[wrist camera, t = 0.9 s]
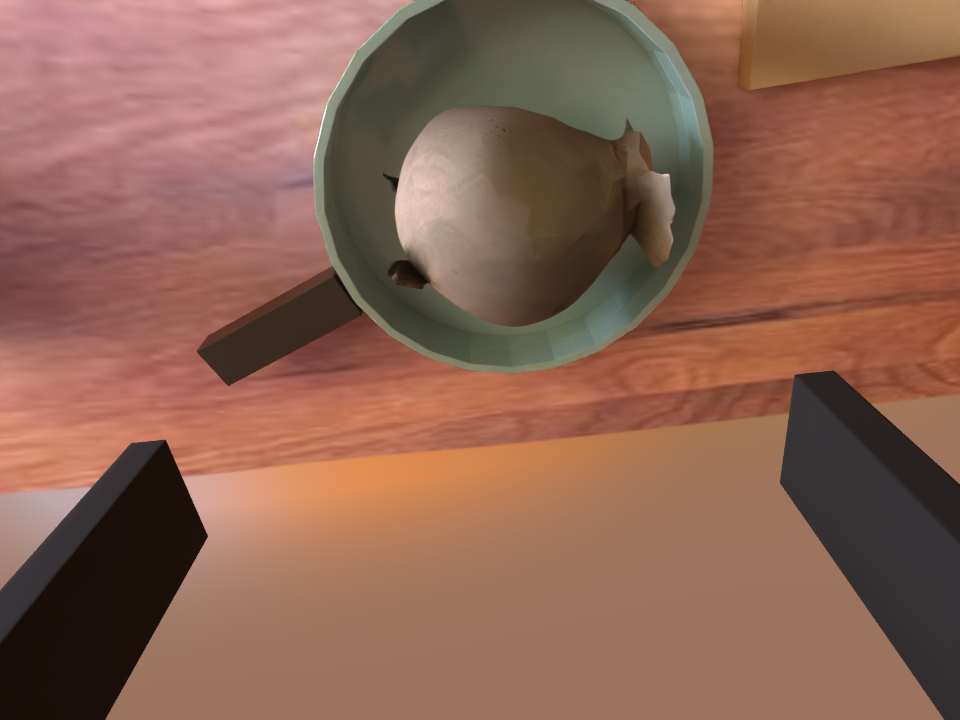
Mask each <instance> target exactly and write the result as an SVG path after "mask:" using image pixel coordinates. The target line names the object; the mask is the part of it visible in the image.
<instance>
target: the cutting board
mask: <svg viewBox="0 0 960 720" xmlns="http://www.w3.org/2000/svg"><path fill="white" fill-rule="evenodd" d="M958 56H960V0H743V15H742V30H741V45H740V61H739V76H738V87H740V88H744V89H747V90H750V91H751V90H757V89H763V88H769V87H775V86H781V85H788V84H794V83H800V82H806V81H812V80H818V79H824V78H830V77H836V76H842V75H848V74H854V73H860V72H866V71H873V70H879V69H885V68H891V67H897V66H903V65H909V64H915V63H921V62H927V61H933V60H939V59H945V58H952V57H958Z"/></svg>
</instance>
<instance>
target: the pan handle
mask: <svg viewBox="0 0 960 720" xmlns="http://www.w3.org/2000/svg"><path fill="white" fill-rule="evenodd" d="M362 312H363V310H362V309H361V308H360V307H359V306H358V305H357V304H356V303H355V301H354V300H353V299H352V297H351V295H350V294H349V292H348V290H347V289H346V287H345V285H344V284H343V282H342V280H341V279H340V277H339V275H338V274H337V272H336V271H335V269H334V267H333V266H332V267H330V268H328V269H327V270H325V271H323V272H321V273H319V274H318V275H316V276H314V277H312V278H311V279H309V280H307V281H305V282H303V283H302V284H300V285H298V286H296V287H294V288H293V289H291V290H289V291H287V292H285V293H284V294H282V295H280V296H278V297H277V298H275V299H273V300H271V301H269V302H268V303H266V304H264V305H262V306H260V307H259V308H257V309H255V310H253V311H251V312H250V313H248V314H246V315H244V316H243V317H241V318H239V319H237V320H235V321H234V322H232V323H230V324H228V325H226V326H225V327H223V328H221V329H219V330H217V331H216V332H214V333H212V334H210V335H209V336H207V338H206V339H205V340H204V342H203V343H202V344H201V346H200V347H199V349H198V350H197V353H198V354H199V355H200V356H201V357H202V358H203V359H204V360H205V361H206V363H207V364H208V365H209V366H210V367H211V368H212V369H213V370H214V371H215V372H216V373H217V374H218V376H219V377H220V378H221V379H222V380H223V381H224V382H225V383H226V384H227V385H228V386H229V385H231V384H233V383H235V382H237V381H239V380H240V379H242V378H244V377H246V376H248V375H250V374H252V373H254V372H256V371H257V370H259V369H261V368H263V367H265V366H267V365H269V364H271V363H273V362H274V361H276V360H278V359H280V358H282V357H284V356H286V355H288V354H290V353H291V352H293V351H295V350H297V349H299V348H301V347H303V346H305V345H306V344H308V343H310V342H312V341H314V340H316V339H318V338H320V337H322V336H323V335H325V334H327V333H329V332H331V331H333V330H335V329H337V328H339V327H340V326H342V325H344V324H346V323H348V322H350V321H352V320H354V319H356V318H357V317H359V316H361V315H362Z"/></svg>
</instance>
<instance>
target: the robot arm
mask: <svg viewBox="0 0 960 720" xmlns="http://www.w3.org/2000/svg"><path fill="white" fill-rule="evenodd" d="M780 484H781V485H782V486H783V488H784V489H785V491H786V492H787V494H788V495H789V497H790V498H791V499H792V501H793V502H794V504H795V505H796V507H797V508H798V509H799V511H800V512H801V514H802V515H803V517H804V518H805V520H806V521H807V522H808V524H809V525H810V527H811V528H812V530H813V531H814V533H815V534H816V535H817V537H818V538H819V540H820V541H821V542H822V544H823V545H824V547H825V548H826V550H827V551H828V553H829V554H830V556H831V557H832V558H833V560H834V561H835V563H836V564H837V566H838V567H839V569H840V570H841V571H842V573H843V574H844V576H845V577H846V578H847V580H848V582H849V583H850V584H851V586H852V587H853V589H854V590H855V592H856V593H857V594H858V596H859V597H860V599H861V600H862V602H863V603H864V604H865V606H866V607H867V609H868V610H869V612H870V613H871V615H872V616H873V617H874V619H875V620H876V622H877V623H878V624H879V626H880V628H881V629H882V630H883V632H884V633H885V635H886V636H887V638H888V639H889V641H890V642H891V643H892V645H893V646H894V648H895V649H896V651H897V652H898V653H899V655H900V656H901V658H902V659H903V661H904V662H905V663H906V665H907V666H908V668H909V669H910V671H911V672H912V674H913V675H914V677H915V678H916V679H917V681H918V682H919V684H920V685H921V687H922V688H923V690H924V691H925V692H926V694H927V695H928V697H929V698H930V700H931V701H932V702H933V704H934V705H935V707H936V708H937V710H938V711H939V713H940V714H941V715H942V717H943V718H944V720H960V484H959V483H958V482H957V481H955V480H954V479H953V478H952V477H951V476H950V475H949V474H948V473H947V472H945V471H944V470H943V469H942V468H941V467H940V466H939V465H938V464H937V463H935V462H934V461H933V460H932V459H931V458H930V457H929V456H928V455H927V454H925V453H924V452H923V451H922V450H921V449H920V448H919V447H918V446H917V445H915V444H914V443H913V442H912V441H911V440H910V439H909V438H908V437H907V436H906V435H905V434H903V433H902V432H901V431H900V430H899V429H898V428H897V427H896V426H895V425H893V424H892V423H891V422H890V421H889V420H888V419H887V418H886V417H885V416H883V415H882V414H881V413H880V412H879V411H878V410H877V409H876V408H874V406H872V405H871V404H870V403H869V402H868V401H867V400H866V399H865V398H864V397H862V396H861V395H860V394H859V393H858V392H857V391H856V390H855V389H854V388H852V387H851V386H850V385H849V384H848V383H847V382H846V381H845V380H844V379H843V378H841V377H840V376H839V375H838V374H837V373H836V372H835V371H825V372H815V373H805V374H796V375H795V376H794V383H793V390H792V398H791V405H790V413H789V420H788V427H787V435H786V442H785V449H784V457H783V464H782V471H781V479H780ZM207 537H208V535H207V533H206V531H205V529H204V526H203V524H202V522H201V520H200V517H199V515H198V512H197V510H196V508H195V506H194V504H193V501H192V499H191V497H190V494H189V492H188V490H187V487H186V485H185V483H184V480H183V478H182V476H181V474H180V471H179V469H178V467H177V465H176V462H175V460H174V458H173V455H172V453H171V451H170V449H169V446H168V444H167V442H166V440H158V441H149V442H139V443H131V444H130V445H129V446H128V447H127V449H126V450H125V451H124V452H123V453H122V454H121V455H120V456H119V458H118V459H117V460H116V461H115V462H114V463H113V464H112V465H111V467H110V468H109V469H108V470H107V471H106V472H105V473H104V474H103V476H102V477H101V478H100V479H99V480H98V481H97V482H96V483H95V484H94V486H93V487H92V488H91V489H90V490H89V491H88V492H87V493H86V495H85V496H84V497H83V498H82V499H81V500H80V501H79V502H78V504H77V505H76V506H75V507H74V508H73V509H72V510H71V511H70V513H69V514H68V515H67V516H66V517H65V518H64V519H63V520H62V522H61V523H60V524H59V525H58V526H57V527H56V528H55V530H54V531H53V532H52V533H51V534H50V535H49V536H48V537H47V538H46V539H45V541H44V542H43V543H42V544H41V545H40V546H39V547H38V548H37V550H36V551H35V552H34V553H33V554H32V555H31V556H30V557H29V559H28V560H27V561H26V562H25V563H24V564H23V565H22V567H21V568H20V569H19V570H18V571H17V572H16V573H15V574H14V576H13V577H12V578H11V579H10V580H9V581H8V582H7V583H6V584H5V585H4V587H3V588H2V589H1V590H0V720H105V719H106V717H107V715H108V713H109V712H110V710H111V708H112V706H113V705H114V703H115V701H116V699H117V698H118V696H119V694H120V692H121V690H122V689H123V687H124V685H125V683H126V682H127V680H128V678H129V676H130V674H131V673H132V671H133V669H134V667H135V666H136V664H137V662H138V660H139V658H140V657H141V655H142V653H143V651H144V649H145V648H146V646H147V644H148V642H149V640H150V639H151V637H152V635H153V634H154V632H155V630H156V628H157V626H158V625H159V623H160V621H161V619H162V617H163V616H164V614H165V612H166V610H167V608H168V607H169V605H170V603H171V601H172V600H173V598H174V596H175V594H176V593H177V591H178V589H179V587H180V585H181V584H182V582H183V580H184V578H185V577H186V575H187V573H188V571H189V569H190V568H191V566H192V564H193V562H194V560H195V559H196V557H197V555H198V553H199V552H200V549H201V548H202V546H203V545H204V543H205V541H206V539H207Z"/></svg>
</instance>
